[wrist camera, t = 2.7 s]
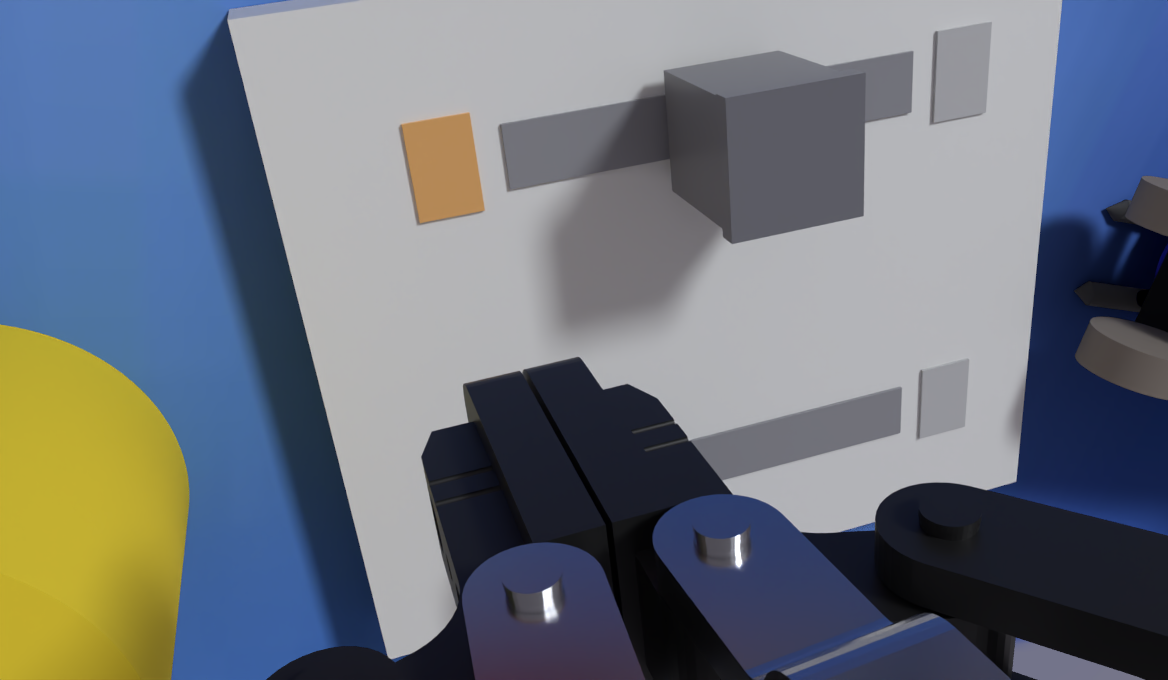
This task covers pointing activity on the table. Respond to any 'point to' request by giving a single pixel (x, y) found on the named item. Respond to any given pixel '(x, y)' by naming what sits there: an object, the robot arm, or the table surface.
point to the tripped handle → (767, 143)
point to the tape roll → (85, 518)
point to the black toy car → (1132, 308)
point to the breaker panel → (650, 243)
